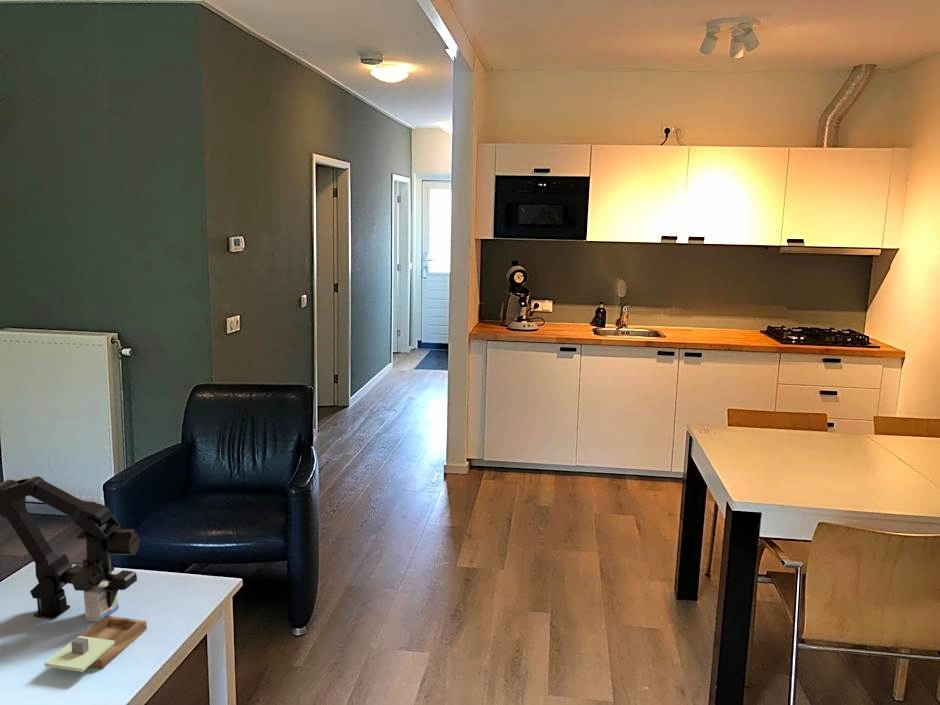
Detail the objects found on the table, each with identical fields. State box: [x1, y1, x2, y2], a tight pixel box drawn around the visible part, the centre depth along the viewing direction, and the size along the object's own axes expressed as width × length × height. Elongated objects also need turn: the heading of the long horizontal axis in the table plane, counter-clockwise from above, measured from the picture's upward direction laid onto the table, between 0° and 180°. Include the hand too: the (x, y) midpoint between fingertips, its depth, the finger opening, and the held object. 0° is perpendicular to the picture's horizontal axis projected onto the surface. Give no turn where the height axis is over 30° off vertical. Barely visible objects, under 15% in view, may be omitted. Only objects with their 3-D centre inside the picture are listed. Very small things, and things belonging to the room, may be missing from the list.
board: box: [80, 615, 148, 670], centre depth 192 cm, size 12×18×2 cm, turn 169°
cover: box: [43, 635, 115, 673], centre depth 183 cm, size 10×12×4 cm
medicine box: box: [83, 581, 119, 623], centre depth 206 cm, size 8×4×9 cm, turn 168°
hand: (102, 605), depth 206 cm, fingers closed on medicine box, 4 cm apart
